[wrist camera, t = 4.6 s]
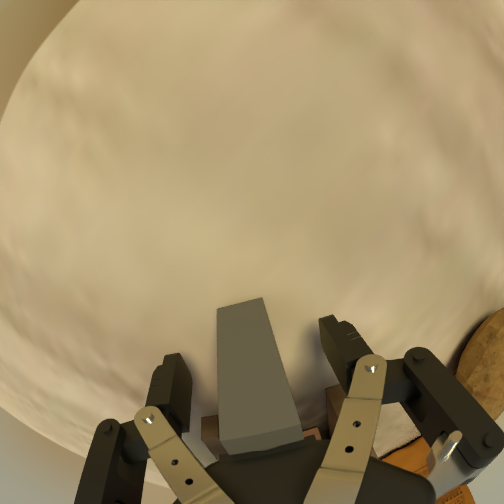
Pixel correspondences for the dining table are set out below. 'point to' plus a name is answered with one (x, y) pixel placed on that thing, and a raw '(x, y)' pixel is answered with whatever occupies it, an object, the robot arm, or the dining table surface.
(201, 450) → the dining table surface
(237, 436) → the grey and tan blocks
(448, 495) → the coffee package
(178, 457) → the robot arm
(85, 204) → the dining table surface
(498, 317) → the potato
